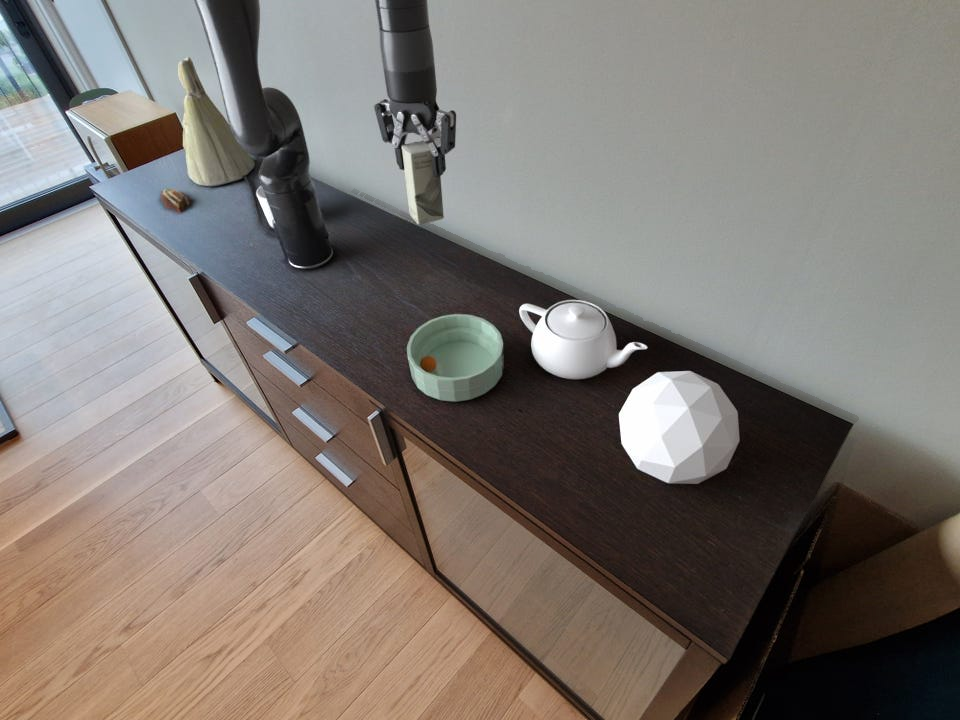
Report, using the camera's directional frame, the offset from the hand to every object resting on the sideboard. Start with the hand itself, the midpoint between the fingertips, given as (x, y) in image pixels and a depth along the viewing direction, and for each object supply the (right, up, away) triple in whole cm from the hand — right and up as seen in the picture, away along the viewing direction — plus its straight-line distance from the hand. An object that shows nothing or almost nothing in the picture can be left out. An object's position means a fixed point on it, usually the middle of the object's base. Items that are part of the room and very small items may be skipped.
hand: (421, 171), depth 88 cm
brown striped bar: (-69, +9, +47) cm, 84 cm away
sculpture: (-61, +20, +57) cm, 86 cm away
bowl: (+6, -33, -1) cm, 34 cm away
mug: (-34, +2, +38) cm, 51 cm away
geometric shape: (+36, -46, -15) cm, 60 cm away
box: (0, -6, +6) cm, 9 cm away
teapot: (+26, -32, -1) cm, 41 cm away
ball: (+1, -32, -2) cm, 33 cm away
